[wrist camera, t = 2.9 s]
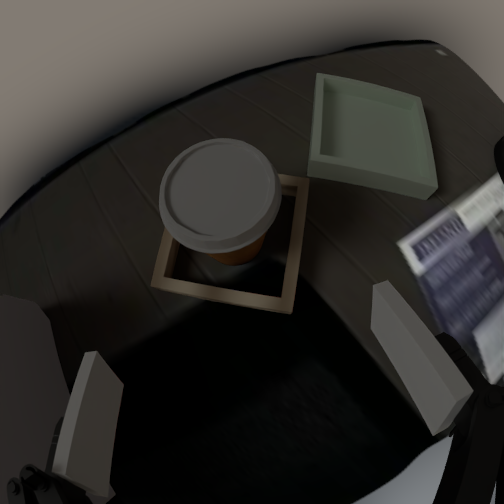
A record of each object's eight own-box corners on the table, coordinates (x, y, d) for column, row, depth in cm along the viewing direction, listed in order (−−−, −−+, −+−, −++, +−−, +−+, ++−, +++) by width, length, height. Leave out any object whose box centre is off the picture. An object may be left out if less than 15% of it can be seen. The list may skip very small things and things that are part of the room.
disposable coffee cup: (271, 286, 30) (273, 256, 19) (184, 273, 31) (139, 239, 20) (283, 203, 33) (288, 138, 21) (202, 195, 34) (172, 132, 22)
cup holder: (307, 189, 33) (309, 178, 31) (290, 314, 29) (292, 312, 27) (189, 174, 35) (184, 164, 32) (159, 289, 31) (150, 286, 28)
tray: (412, 112, 36) (420, 97, 33) (425, 200, 32) (438, 188, 29) (314, 89, 38) (316, 72, 34) (306, 176, 34) (310, 160, 30)
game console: (86, 493, 23) (-2, 547, 4) (23, 316, 31) (-87, 289, 12) (116, 494, 24) (27, 563, 4) (47, 304, 31) (-72, 270, 12)
